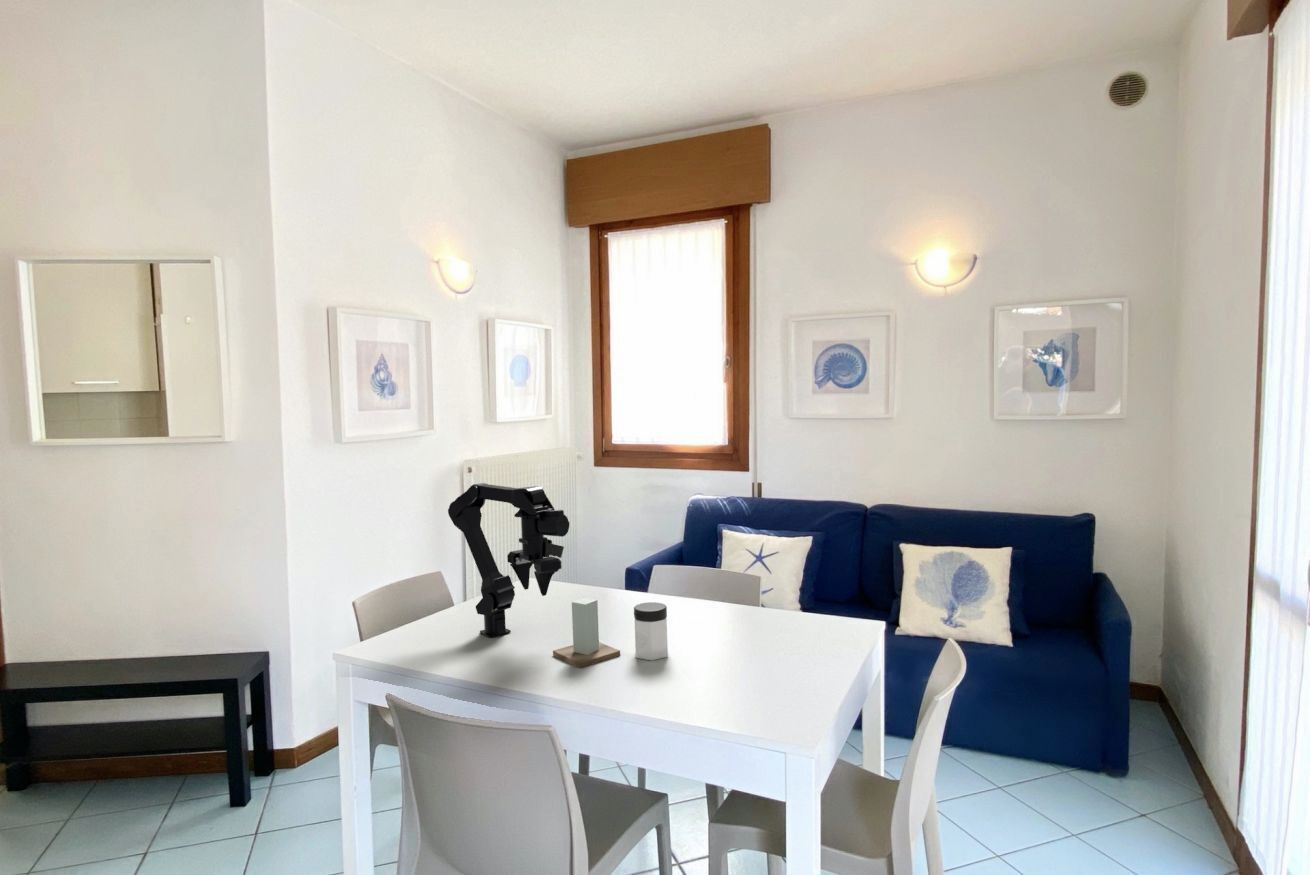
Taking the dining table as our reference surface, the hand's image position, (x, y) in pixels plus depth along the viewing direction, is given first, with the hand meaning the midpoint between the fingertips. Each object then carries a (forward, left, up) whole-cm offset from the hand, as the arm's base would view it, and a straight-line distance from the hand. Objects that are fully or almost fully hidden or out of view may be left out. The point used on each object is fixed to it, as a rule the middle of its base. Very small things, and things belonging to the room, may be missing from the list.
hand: (535, 592), depth 187 cm
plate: (+19, +3, -13) cm, 23 cm away
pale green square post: (+19, +3, -12) cm, 23 cm away
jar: (+30, +15, -13) cm, 36 cm away
